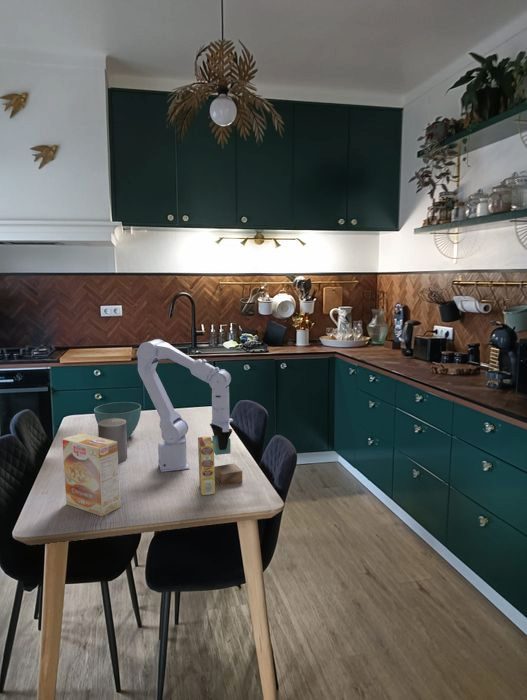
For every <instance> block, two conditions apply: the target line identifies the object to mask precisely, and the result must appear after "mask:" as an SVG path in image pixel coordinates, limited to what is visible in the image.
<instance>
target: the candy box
mask: <svg viewBox="0 0 527 700" xmlns="http://www.w3.org/2000/svg"><path fill="white" fill-rule="evenodd" d="M197 450H198V451H197V452H198V453H197V455H198V477H199V478H198V481H199V487H200V493H201V495H202V496H209V495H215V494H216V479H215V470H214V467H215V453H214V445H213V442H212V436H201V437H199V436H198V438H197Z"/></svg>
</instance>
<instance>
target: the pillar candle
mask: <svg viewBox="0 0 527 700" xmlns="http://www.w3.org/2000/svg"><path fill="white" fill-rule="evenodd" d="M97 433H98V434H97V437H100V438H104V439H108V440H113V441H117V449H118V464H120V463H122V462H125V461H126V460H127V458H128V441H127V440H128V438H127V434H126V420H123V419H117V418H113V419H112V418H111V419H106V420H102V421H100V422H99V423H97Z"/></svg>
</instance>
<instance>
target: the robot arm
mask: <svg viewBox="0 0 527 700" xmlns="http://www.w3.org/2000/svg"><path fill="white" fill-rule="evenodd" d="M135 354H136V357H137V372H138V374H139V376H140V378H141V381H142V382H143V385H144V386H145V389H146V390H147V393H148V396H149V398H150V399H151V401H152V404H153V406H154V408H155V410H156V412H157V414H158V416H159V419H160V420H159V428H160V430H161V431H160V432H161V438H162V440H163V441H161V442H159V443H157V444H158V447H157V449H158V451H157V452H158V460H157V461H158V466H159V469H160V471H161V473H163V472H164V473H165V472H171V471H180V470H188V469H190V465H189V464H188V462H187V461H188V459H187V457H188V456H187V438H186V435H187V433H188V432H189V425H188V422H187V421H186V420H184V419H183V417H182V416H181V414H180V413H179V412H178V411H176V410H175V408H174V406H173V404H172V402H171V400H170V398H169V396H168V394H167V391H166V389H165V387H164V385H163V383H162V381H161V379H160V377H159V374H158V373H157V371H156V368H157V366H158V364H159V361H160V360H166V359H169V360H170V361H173V362H174V363H177V364H178V365H181V366H183V367H185V368H187V369H189V371H190V374H191V375H193V376H195V377H196V378H198V379H199V380H201V381H203V382H204V383H207V384H209V387H210V388H211V423H209V426H210V428H211V431H212V432H213V436H216V435H217V438H218V444H219V449H220V450H226V448H227V444H228V440H229V438H231V437H230V436H231V434H232V433H233V429H232V428H230V424H231V423H233V421H234V419H233V418H231V417H230V386H229V385H230V383H232V382H231V381H232V376H231V373H229V372H228V371H227V370H226V369H222V368H219V367H218V366H216V367H215V366H214V365H212V364H210V363H209V362H208V361H207V359H204V358H203V359H201V358H198V359H193V358H192V357H190V356H189V355H187V354H185V353H184V352H183V351H181V350H179V349H178V348H176V347H174V346H173V345H171V344H170V343H169V342H166V341H164V340H162V339H159V338H155V339H153V340H149V341H146V342H145V341H144V342H142V343H141V344H140V345H139V346H138V348H137V351H136V353H135Z"/></svg>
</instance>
